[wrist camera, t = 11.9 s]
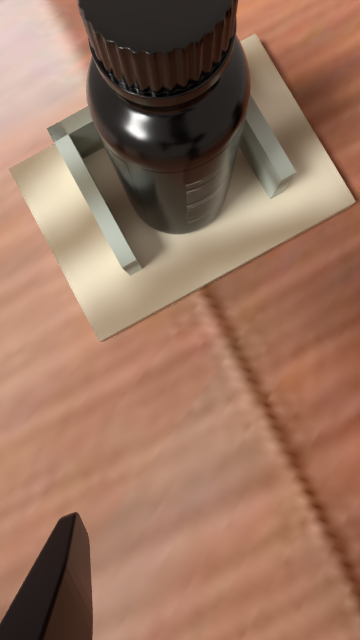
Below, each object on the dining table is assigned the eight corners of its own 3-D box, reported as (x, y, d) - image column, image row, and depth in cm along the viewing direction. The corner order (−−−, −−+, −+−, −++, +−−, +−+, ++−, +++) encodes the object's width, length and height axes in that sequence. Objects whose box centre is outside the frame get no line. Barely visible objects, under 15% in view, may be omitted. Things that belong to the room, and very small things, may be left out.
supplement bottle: (221, 137, 20) (271, -155, 8) (230, 232, 20) (296, 76, 8) (124, 147, 20) (31, -123, 8) (132, 242, 20) (47, 103, 8)
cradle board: (348, 208, 21) (380, 182, 17) (103, 341, 21) (86, 343, 17) (252, 47, 21) (264, -9, 18) (17, 176, 21) (-17, 146, 18)
